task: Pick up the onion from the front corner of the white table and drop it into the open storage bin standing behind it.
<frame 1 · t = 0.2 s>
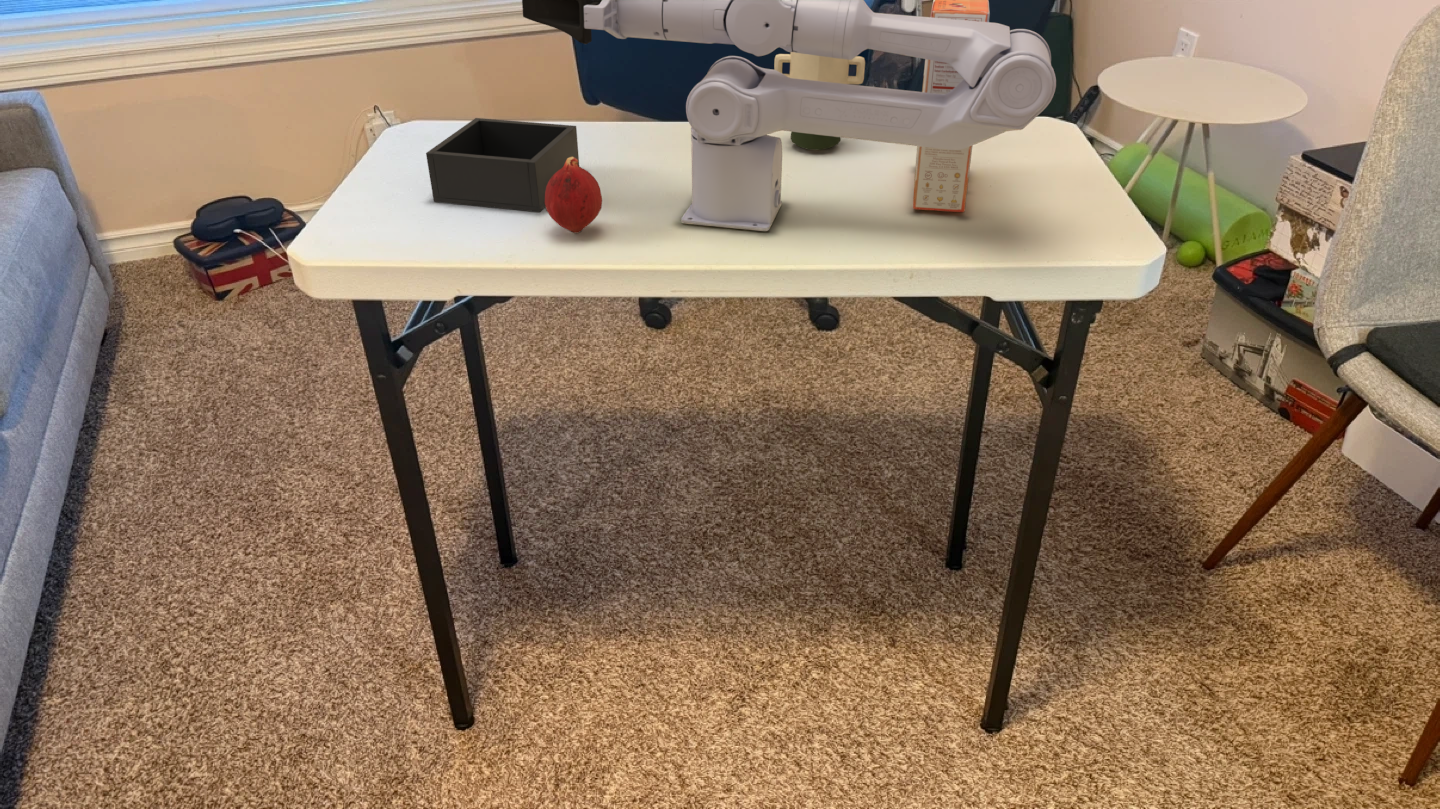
beige and green cup: (814, 147, 128), on the table
cracker box: (937, 192, 115), on the table, touching arm
onion: (576, 234, 106), on the table
open storage bin: (509, 186, 117), on the table
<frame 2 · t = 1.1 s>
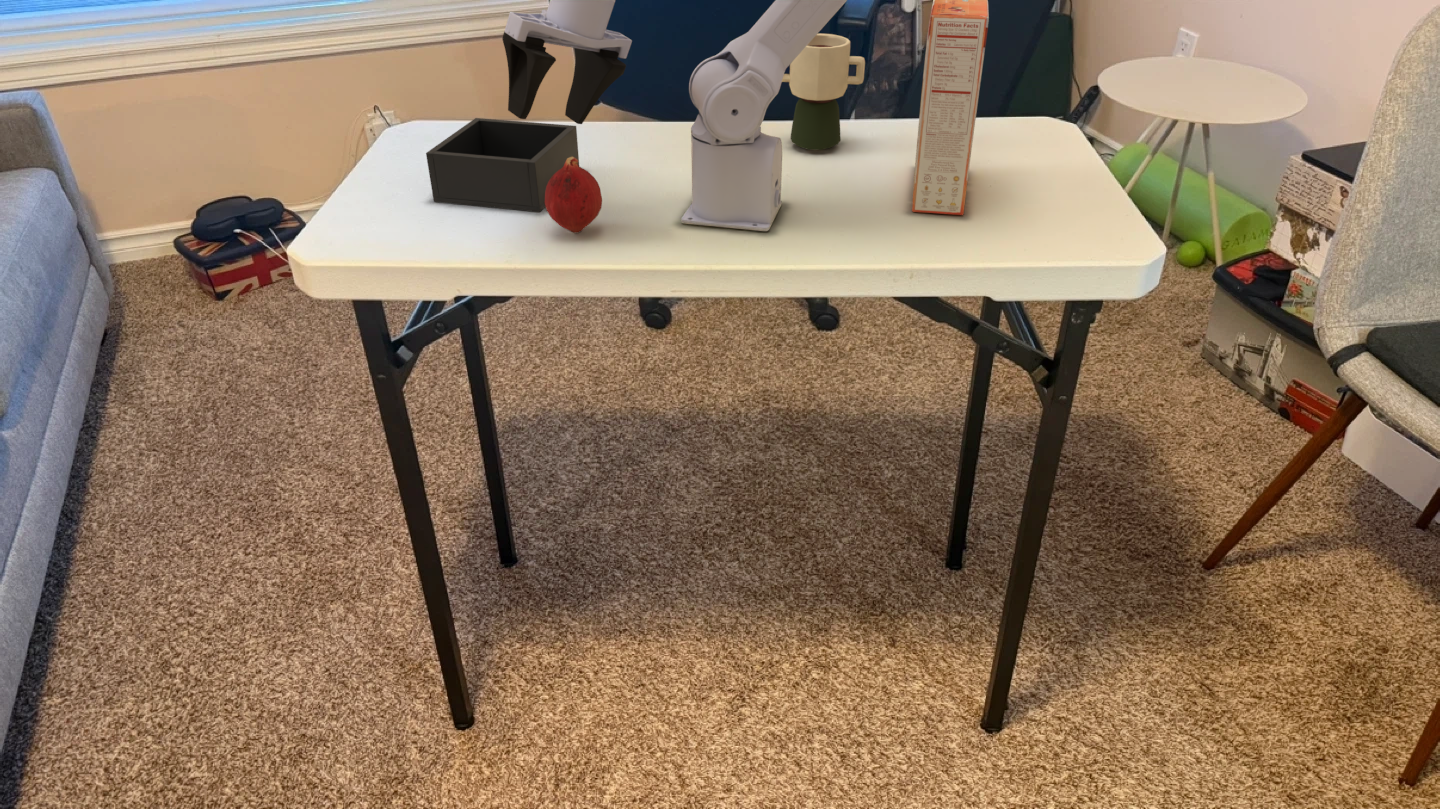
hand: (545, 117, 101), 12 cm above the table, tool tilted 20°, fingers open, 7 cm apart
cracker box: (937, 193, 115), on the table
everything else where it was.
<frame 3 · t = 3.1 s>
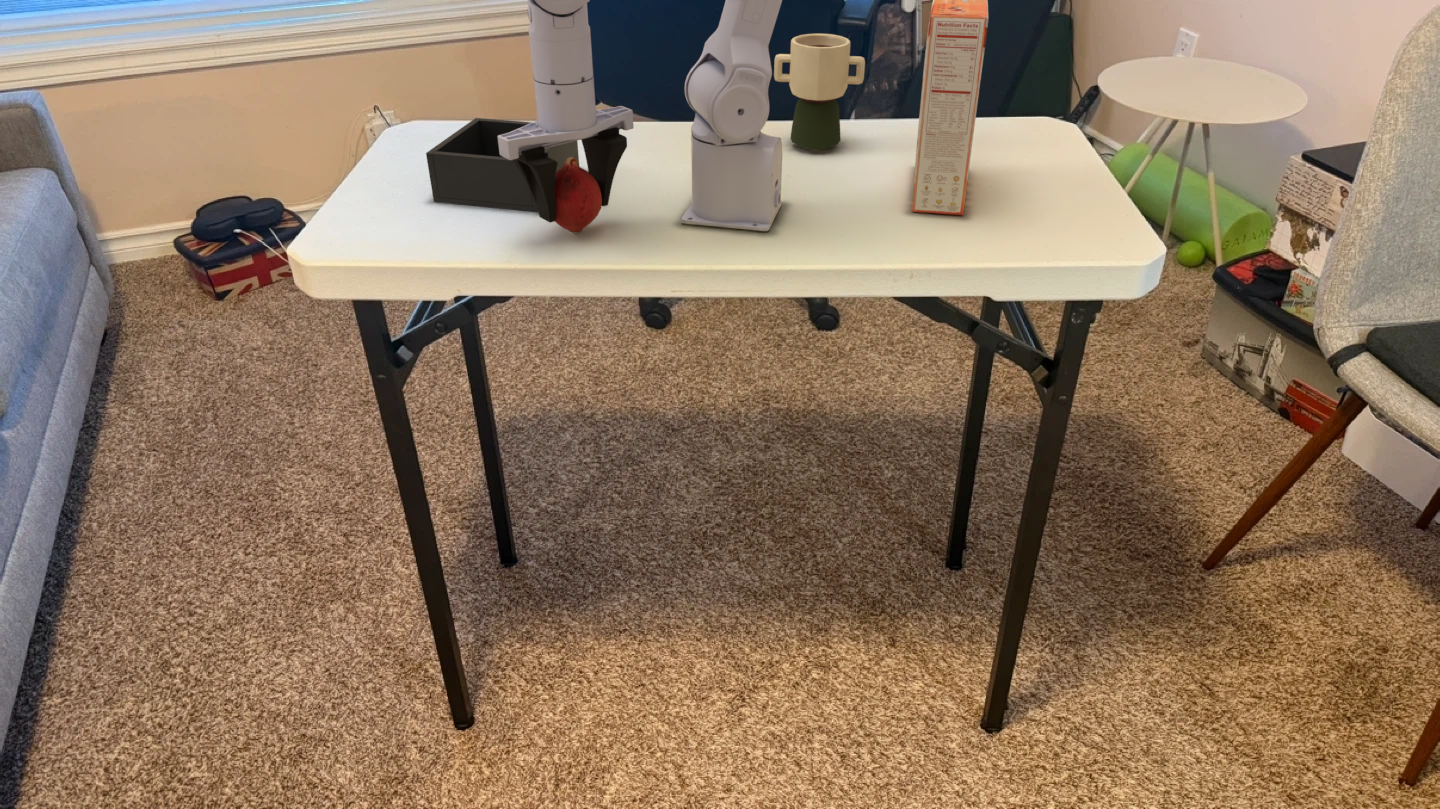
hand: (574, 210, 104), 2 cm above the table, tool pointing down, fingers closed on onion, 6 cm apart
onion: (576, 234, 106), on the table, touching gripper
everything else where it was.
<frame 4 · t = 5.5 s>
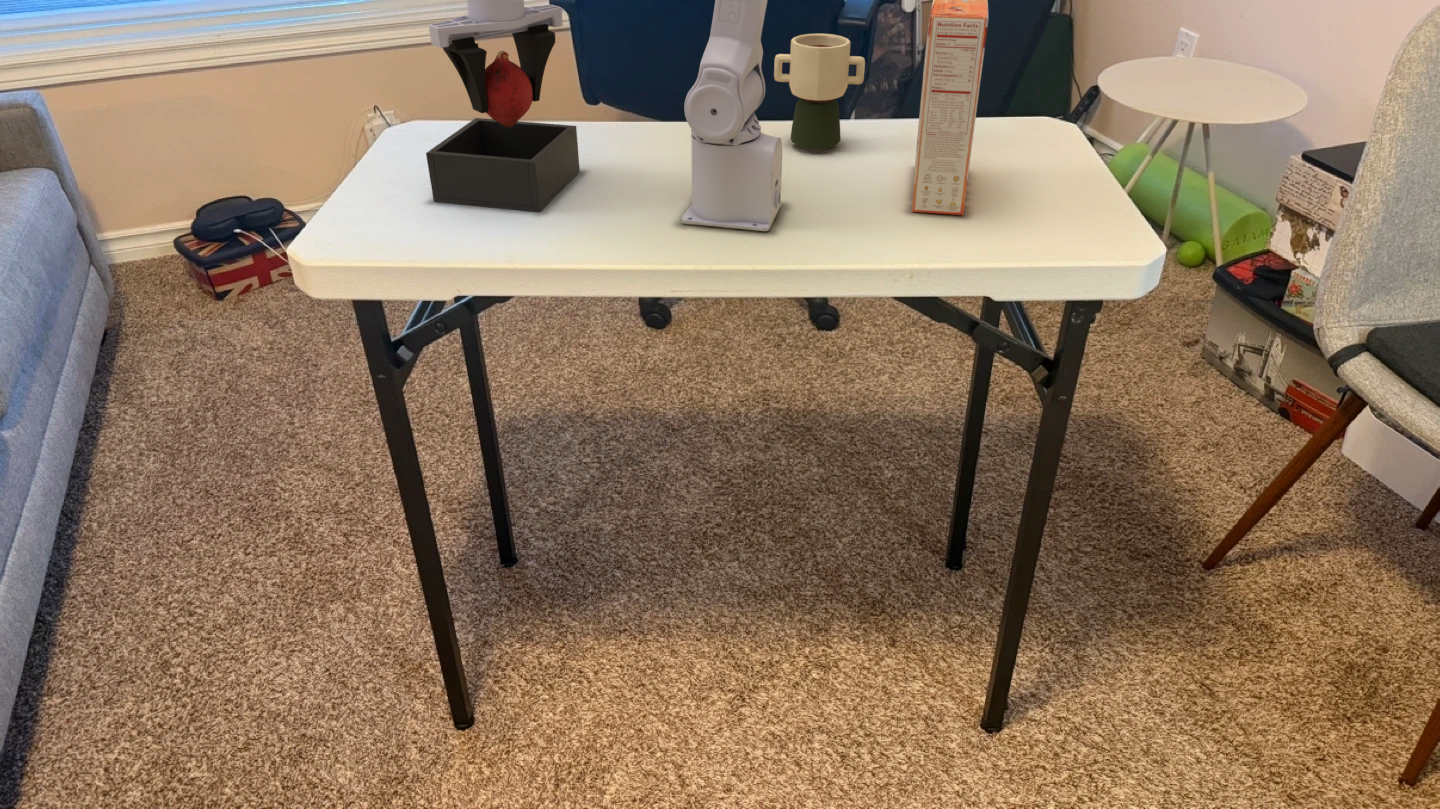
hand: (507, 104, 110), 10 cm above the table, tool pointing down, fingers closed on onion, 6 cm apart
onion: (509, 128, 111), point 7 cm above the table, touching gripper
everything else where it was.
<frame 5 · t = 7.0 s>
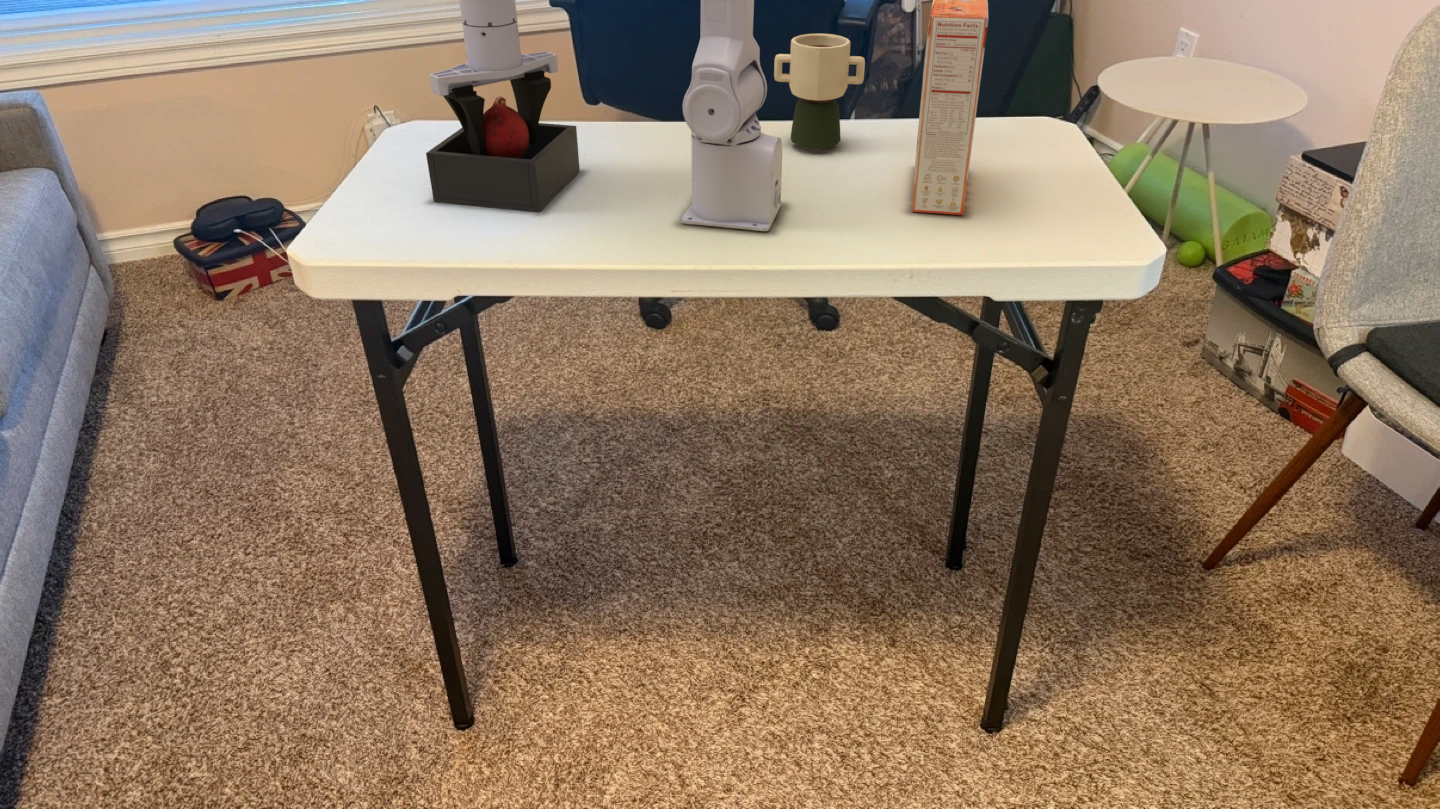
hand: (504, 147, 114), 5 cm above the table, tool pointing down, fingers closed on onion, 6 cm apart
onion: (506, 169, 115), point 2 cm above the table, touching gripper
everything else where it was.
when the fingers open (3 cm above the table, at t = 8.1 s): onion stays where it is, resting on open storage bin.
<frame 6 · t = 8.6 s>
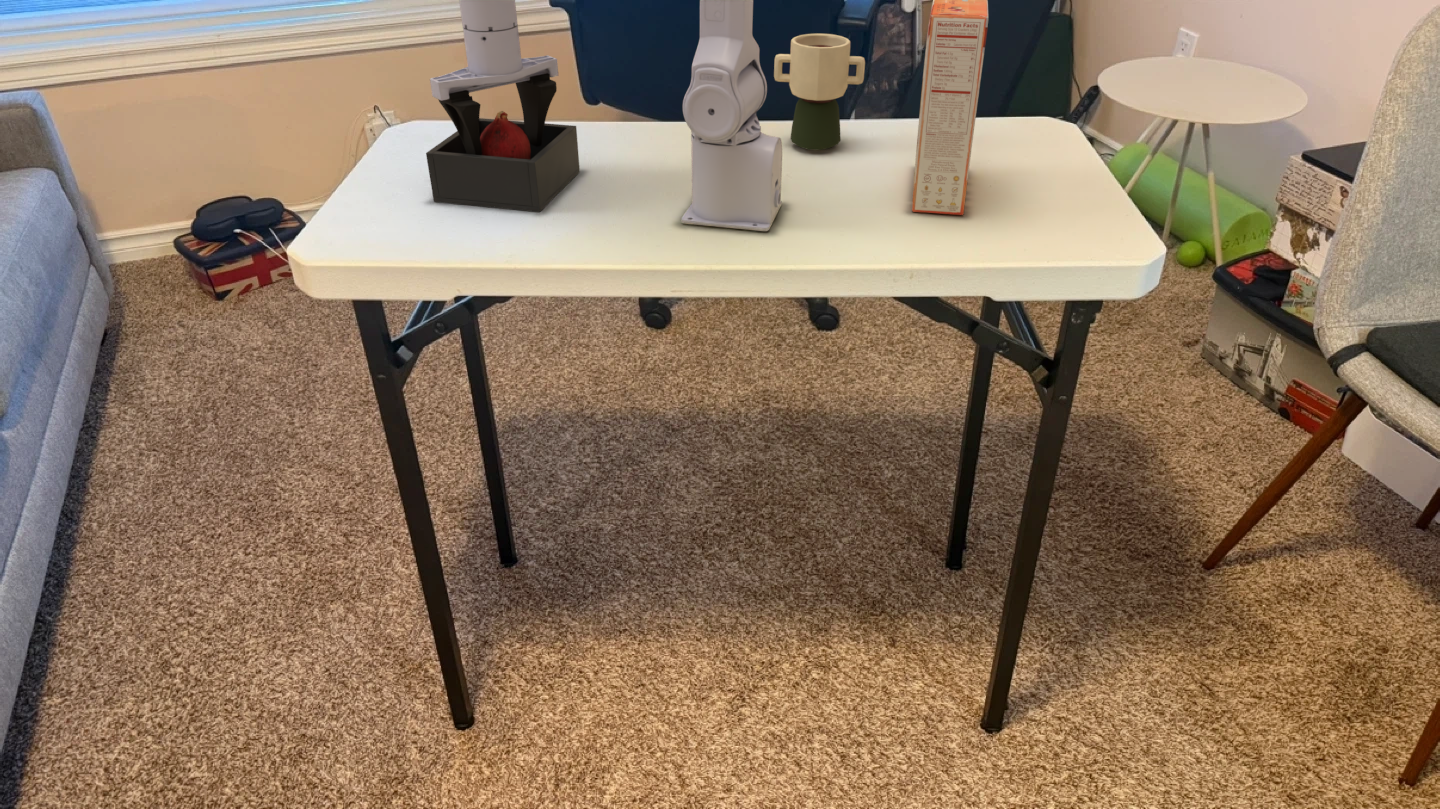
hand: (505, 151, 114), 4 cm above the table, tool pointing down, fingers open, 7 cm apart
onion: (508, 183, 116), resting on open storage bin
everything else where it was.
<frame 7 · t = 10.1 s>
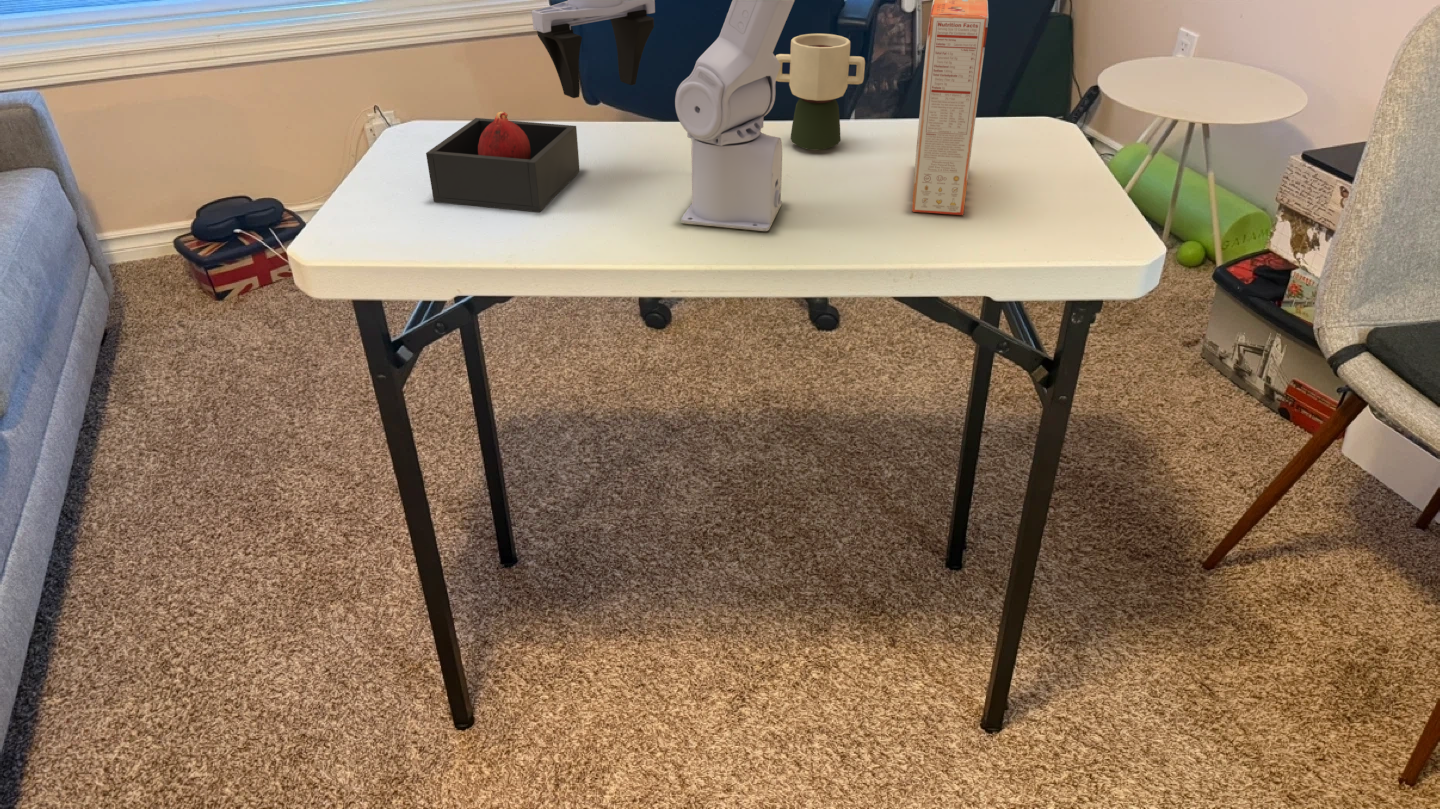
hand: (600, 89, 113), 10 cm above the table, tool pointing down, fingers open, 7 cm apart
nothing on the table moved.
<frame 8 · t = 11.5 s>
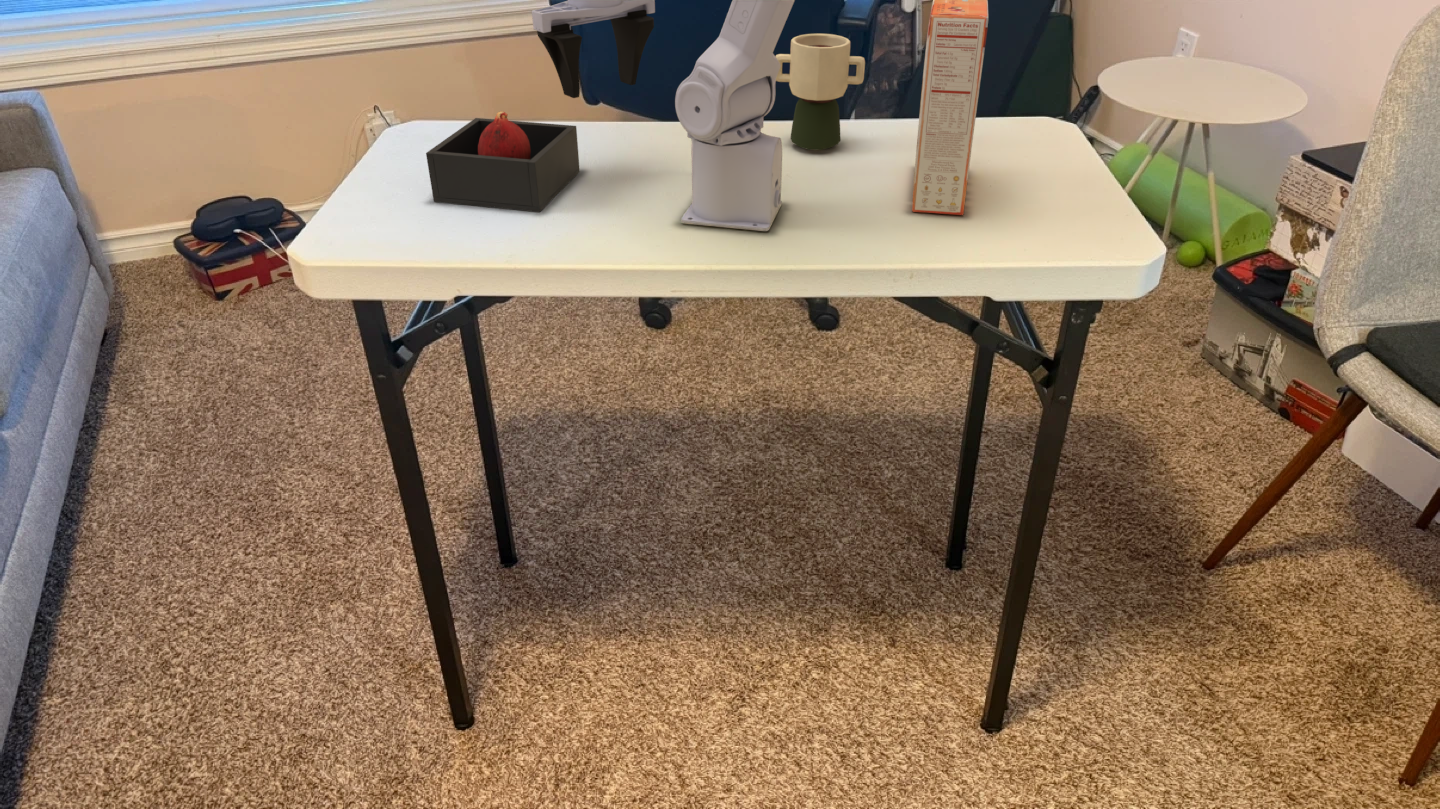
hand: (600, 89, 113), 10 cm above the table, tool pointing down, fingers open, 7 cm apart
nothing on the table moved.
at the end: onion inside the target area in the open storage bin (0.1 cm from its centre), point 0.4 cm above the open storage bin's base; the gripper is holding nothing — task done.
